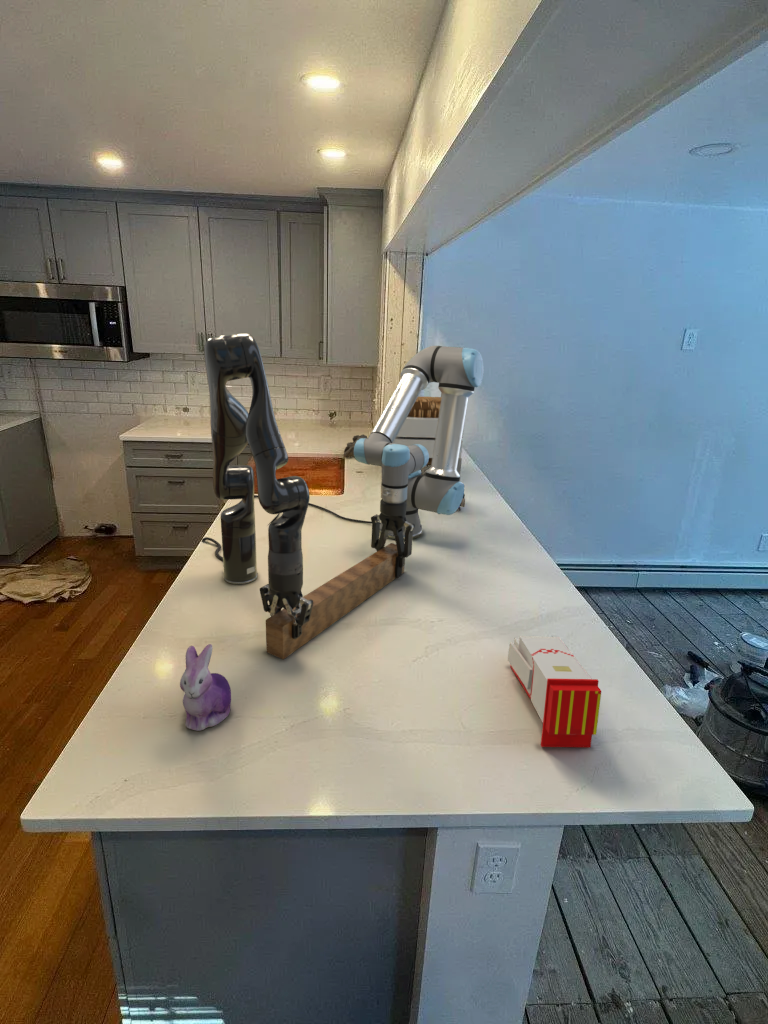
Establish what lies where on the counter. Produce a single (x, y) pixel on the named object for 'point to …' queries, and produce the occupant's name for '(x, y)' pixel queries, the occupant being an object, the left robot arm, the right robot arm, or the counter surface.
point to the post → (333, 601)
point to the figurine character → (462, 502)
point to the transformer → (423, 426)
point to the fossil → (352, 446)
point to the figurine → (204, 691)
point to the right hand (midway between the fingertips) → (389, 573)
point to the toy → (557, 690)
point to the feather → (274, 519)
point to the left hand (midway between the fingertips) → (286, 633)
